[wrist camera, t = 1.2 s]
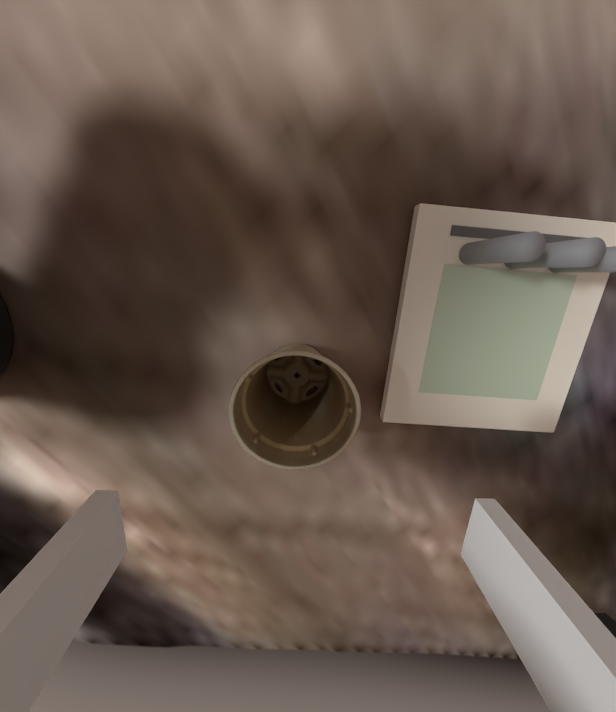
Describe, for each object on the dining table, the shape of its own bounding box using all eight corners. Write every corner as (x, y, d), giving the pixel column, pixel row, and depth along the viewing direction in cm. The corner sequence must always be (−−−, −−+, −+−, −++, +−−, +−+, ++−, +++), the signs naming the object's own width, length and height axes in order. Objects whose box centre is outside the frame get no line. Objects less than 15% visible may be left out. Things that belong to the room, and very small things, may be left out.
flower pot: (316, 430, 31) (322, 489, 22) (234, 393, 29) (207, 441, 21) (361, 354, 29) (385, 387, 20) (274, 310, 27) (262, 327, 19)
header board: (379, 416, 30) (407, 466, 23) (414, 206, 25) (467, 175, 17) (544, 426, 31) (626, 478, 23) (612, 225, 26) (750, 205, 18)
